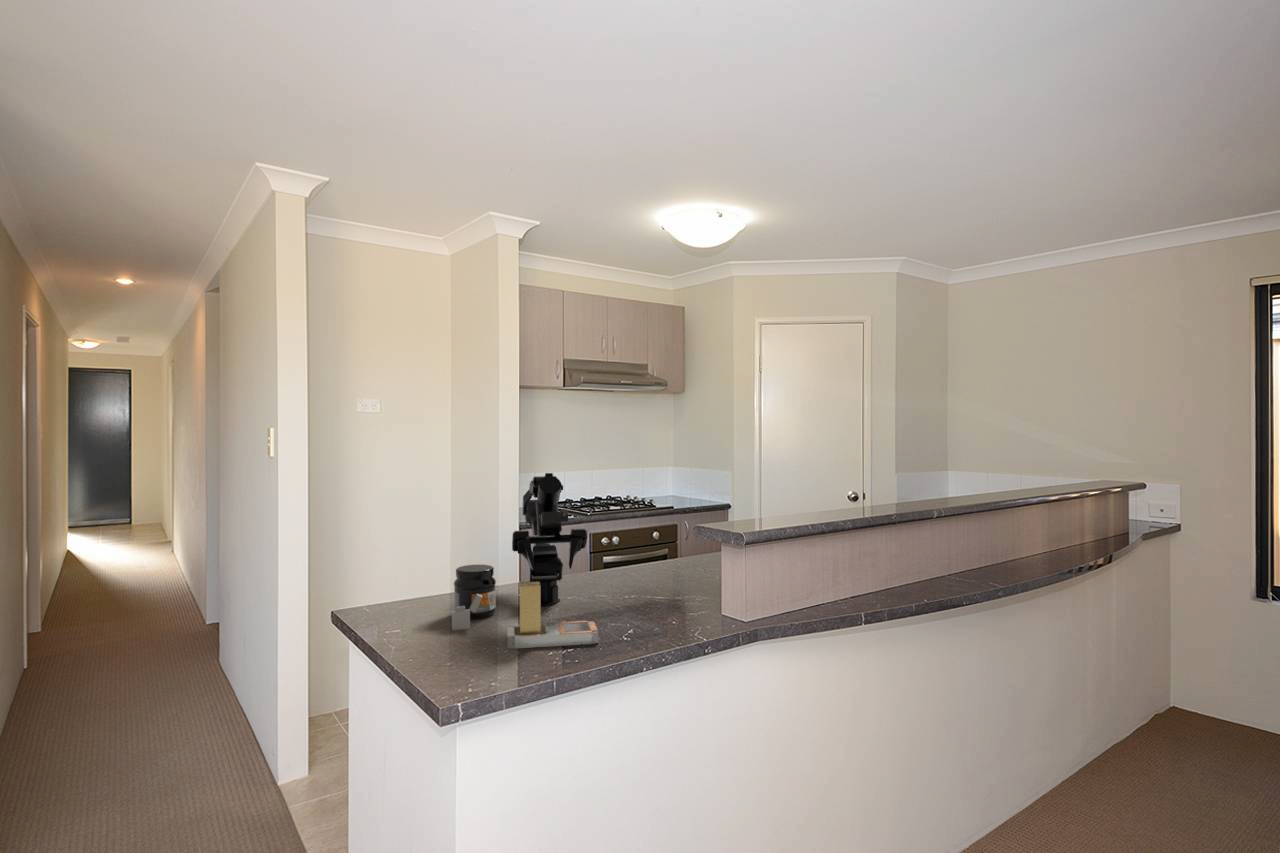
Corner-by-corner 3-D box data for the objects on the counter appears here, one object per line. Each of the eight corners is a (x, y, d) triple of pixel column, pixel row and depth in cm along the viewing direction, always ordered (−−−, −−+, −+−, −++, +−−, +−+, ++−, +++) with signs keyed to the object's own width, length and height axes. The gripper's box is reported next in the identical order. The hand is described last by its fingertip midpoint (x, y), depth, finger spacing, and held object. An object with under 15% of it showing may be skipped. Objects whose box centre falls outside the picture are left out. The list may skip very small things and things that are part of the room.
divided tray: (507, 648, 156) (507, 636, 156) (507, 636, 165) (507, 624, 165) (598, 643, 160) (598, 631, 160) (593, 631, 168) (593, 620, 168)
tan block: (520, 645, 158) (520, 586, 158) (519, 638, 163) (519, 582, 163) (540, 643, 159) (540, 586, 159) (539, 637, 164) (539, 581, 164)
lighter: (452, 630, 169) (452, 596, 169) (451, 628, 171) (451, 595, 171) (482, 627, 172) (482, 594, 172) (481, 625, 173) (481, 592, 173)
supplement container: (501, 616, 181) (501, 569, 181) (460, 622, 176) (460, 574, 176) (488, 607, 190) (488, 562, 190) (448, 612, 185) (448, 566, 185)
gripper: (512, 499, 178) (515, 553, 168) (586, 497, 182) (593, 549, 172) (511, 524, 186) (513, 577, 176) (581, 522, 191) (588, 573, 180)
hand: (552, 568), depth 176 cm, fingers open, 9 cm apart
